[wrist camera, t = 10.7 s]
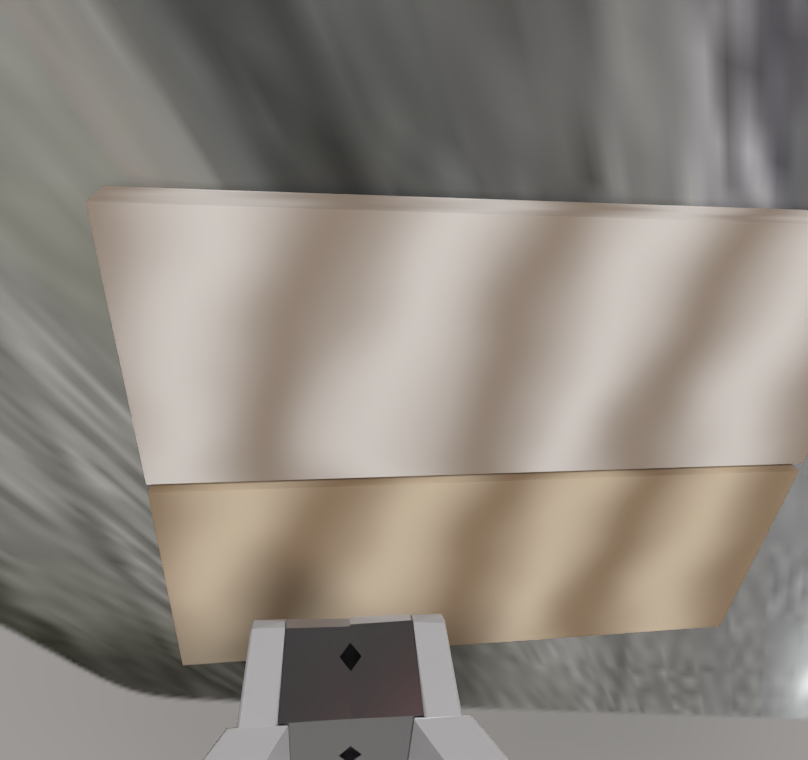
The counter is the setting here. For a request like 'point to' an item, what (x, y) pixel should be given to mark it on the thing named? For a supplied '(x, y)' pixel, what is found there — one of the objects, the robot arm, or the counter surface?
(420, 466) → the whitewashed plank
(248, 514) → the laid oak row
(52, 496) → the counter surface
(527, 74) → the counter surface
